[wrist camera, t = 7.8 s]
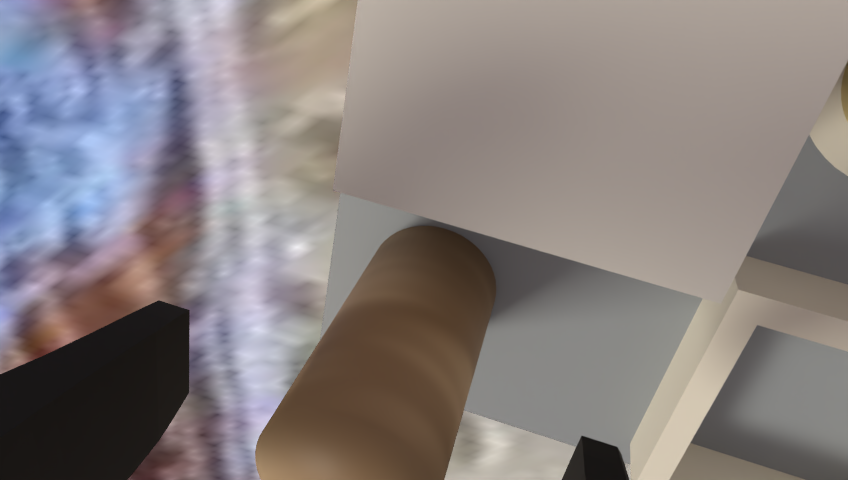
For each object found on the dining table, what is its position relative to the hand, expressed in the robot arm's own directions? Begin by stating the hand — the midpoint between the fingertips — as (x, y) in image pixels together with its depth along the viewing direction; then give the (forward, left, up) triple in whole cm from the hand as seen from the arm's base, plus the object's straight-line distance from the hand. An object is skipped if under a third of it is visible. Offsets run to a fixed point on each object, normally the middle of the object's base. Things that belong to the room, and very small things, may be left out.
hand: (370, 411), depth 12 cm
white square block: (-2, -7, -4) cm, 8 cm away
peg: (0, 0, -4) cm, 4 cm away
